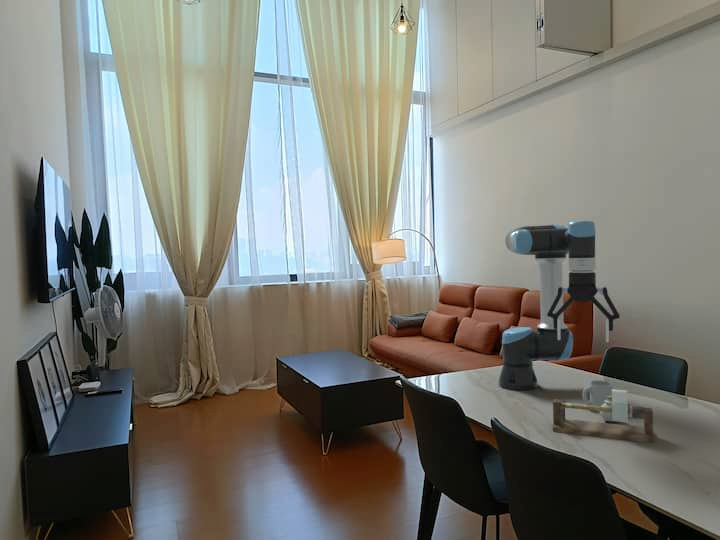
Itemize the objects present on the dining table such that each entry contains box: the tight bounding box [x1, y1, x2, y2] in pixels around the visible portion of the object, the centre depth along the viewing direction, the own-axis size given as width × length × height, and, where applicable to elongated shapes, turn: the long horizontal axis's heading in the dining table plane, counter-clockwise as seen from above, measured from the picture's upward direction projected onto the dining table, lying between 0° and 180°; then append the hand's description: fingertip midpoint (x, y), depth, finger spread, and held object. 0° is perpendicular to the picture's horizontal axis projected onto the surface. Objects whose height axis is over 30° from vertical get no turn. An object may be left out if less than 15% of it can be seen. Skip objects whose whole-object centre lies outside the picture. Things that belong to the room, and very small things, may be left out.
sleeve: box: [612, 388, 629, 423], centre depth 149 cm, size 4×5×8 cm
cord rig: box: [552, 398, 655, 444], centre depth 152 cm, size 27×9×9 cm, turn 64°
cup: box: [581, 379, 614, 406], centre depth 172 cm, size 7×10×9 cm
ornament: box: [597, 391, 615, 423], centre depth 160 cm, size 6×7×10 cm
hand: (582, 340), depth 154 cm, fingers open, 13 cm apart
